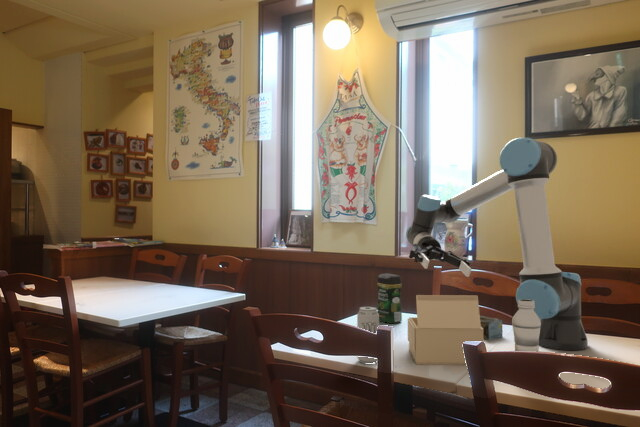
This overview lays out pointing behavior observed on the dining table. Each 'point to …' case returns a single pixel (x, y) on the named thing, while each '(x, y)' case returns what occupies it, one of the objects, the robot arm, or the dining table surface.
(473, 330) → the kraft box
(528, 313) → the plastic bottle
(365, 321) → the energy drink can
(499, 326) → the beverage carton
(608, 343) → the dining table surface
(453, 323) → the long flap
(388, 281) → the coffee jar
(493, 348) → the dining table surface
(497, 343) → the dining table surface
